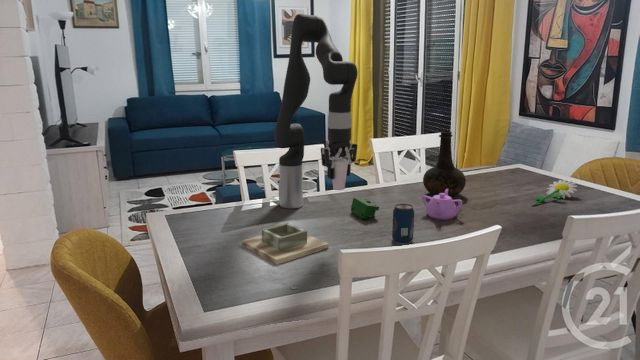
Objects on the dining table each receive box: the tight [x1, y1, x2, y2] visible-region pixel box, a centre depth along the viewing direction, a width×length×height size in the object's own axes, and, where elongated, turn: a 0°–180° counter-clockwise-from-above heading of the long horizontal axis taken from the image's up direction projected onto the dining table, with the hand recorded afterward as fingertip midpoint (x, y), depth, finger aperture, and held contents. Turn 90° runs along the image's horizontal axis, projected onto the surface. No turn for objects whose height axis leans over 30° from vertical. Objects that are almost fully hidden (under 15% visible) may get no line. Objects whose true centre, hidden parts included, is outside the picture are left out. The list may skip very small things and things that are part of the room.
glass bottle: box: [422, 130, 467, 198], centre depth 217 cm, size 18×18×28 cm
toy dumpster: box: [350, 197, 380, 220], centre depth 194 cm, size 12×6×9 cm, turn 17°
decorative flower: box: [531, 179, 578, 207], centre depth 213 cm, size 13×5×30 cm
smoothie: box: [330, 157, 349, 191], centre depth 164 cm, size 6×6×14 cm
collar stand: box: [240, 222, 329, 265], centre depth 163 cm, size 20×20×6 cm
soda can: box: [391, 203, 415, 245], centre depth 167 cm, size 7×7×12 cm
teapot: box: [421, 189, 463, 221], centre depth 192 cm, size 12×14×9 cm
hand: (339, 176), depth 165 cm, fingers closed on smoothie, 6 cm apart
